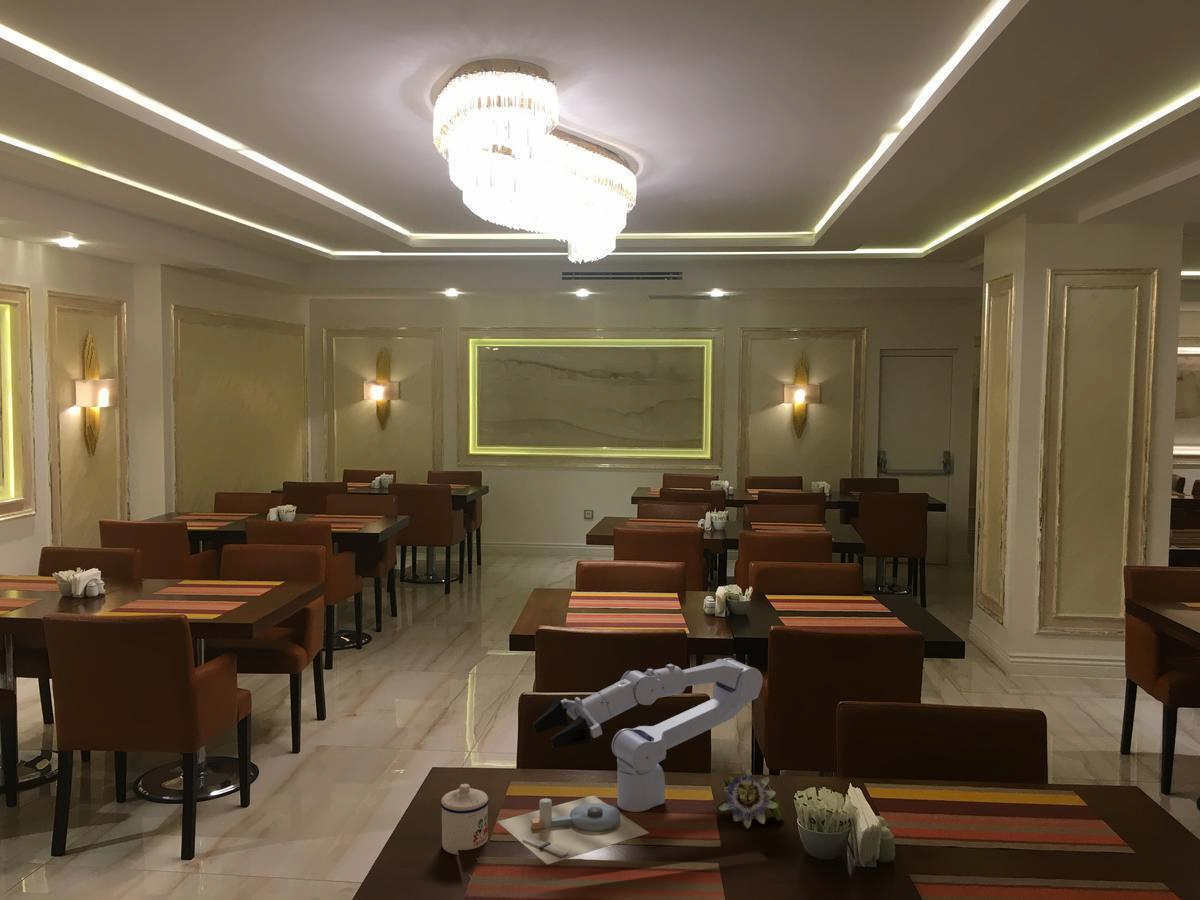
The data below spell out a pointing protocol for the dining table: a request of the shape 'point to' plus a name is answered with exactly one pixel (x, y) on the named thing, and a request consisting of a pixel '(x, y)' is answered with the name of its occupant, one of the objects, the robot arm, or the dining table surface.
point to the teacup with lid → (464, 819)
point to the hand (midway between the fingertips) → (543, 735)
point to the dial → (578, 817)
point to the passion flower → (749, 799)
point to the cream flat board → (567, 833)
